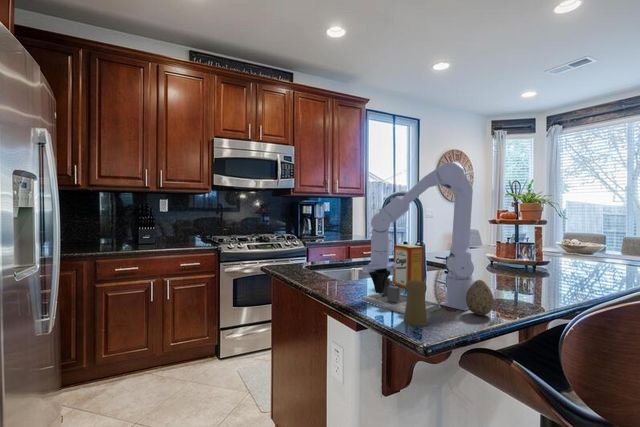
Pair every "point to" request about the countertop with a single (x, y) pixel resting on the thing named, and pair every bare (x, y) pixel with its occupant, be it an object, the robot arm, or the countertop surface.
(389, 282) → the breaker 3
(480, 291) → the decorative egg
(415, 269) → the baking soda box
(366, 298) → the panel
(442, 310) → the countertop surface
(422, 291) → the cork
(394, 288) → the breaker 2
